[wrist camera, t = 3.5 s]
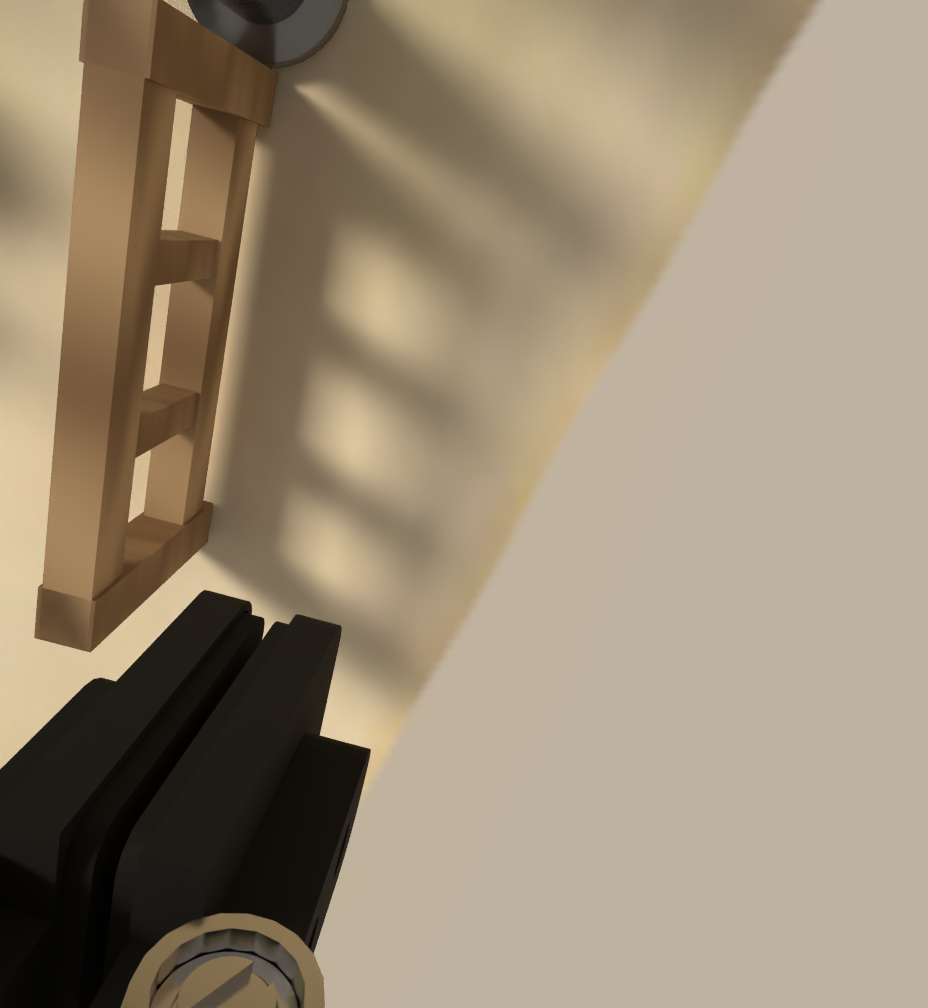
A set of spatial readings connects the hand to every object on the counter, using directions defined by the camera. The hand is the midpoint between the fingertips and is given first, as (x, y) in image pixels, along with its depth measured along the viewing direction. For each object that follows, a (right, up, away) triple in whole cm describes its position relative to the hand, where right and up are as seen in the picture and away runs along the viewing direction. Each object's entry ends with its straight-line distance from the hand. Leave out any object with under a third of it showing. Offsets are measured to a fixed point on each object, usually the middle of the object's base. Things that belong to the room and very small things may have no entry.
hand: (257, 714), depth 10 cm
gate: (-5, +8, +15) cm, 18 cm away
